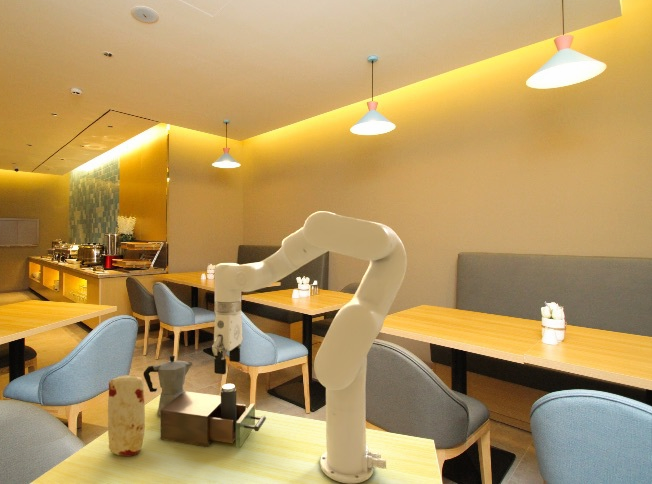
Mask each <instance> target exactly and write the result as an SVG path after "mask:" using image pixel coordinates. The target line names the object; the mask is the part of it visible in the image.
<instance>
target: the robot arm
mask: <svg viewBox="0 0 652 484" xmlns="http://www.w3.org/2000/svg"><path fill="white" fill-rule="evenodd" d="M328 252H331V253H334V254H339V255H343V256H346V257H349V258H354V259H358V260H362V261H369V264H368V267H367V269H366V271H365V273H364V275H363V277H362V279H361V281H360V283H359V285H358V287H357V290H355V293H354V295H353V296H352V298H351V299H350V301H348V303H346V304H344V305H343V306H342V307H341V308H340V309H339V310H338V311H337V313H336V314H335V316H334V318H333V320H332V321H331V324H330V326H329V328H328V329H327V332H326V334H325V336H324V338H323V340H322V342H321V345H320V346H319V348H318V350H317V353H316V355H315V358H314V361H313V370H314V375H315V377H316V379H317V381H318V382H319V383H320V384H321V385H322V386H323V387H324V388H325V433H326V436H325V437H326V438H325V439H326V442H325V443H326V451H324V452H323V453H322V455H321V457H320V462H319V463H320V469H321V471H322V472H323V473H324V474H325V476H327V477H328V478H330V479H331V480H333V481H336V482H339V483H342V484H361V483H363V482H366V481H367V480H369V479H370V478H371V477H372V476H373V473H374V468H378V469H383V470H387V459H386V458H382V454H381V453H378V452H372V451H371V450H369V444H367V415H366V414H367V413H366V412H367V411H366V409H367V407H366V406H367V405H366V404H367V401H366V399H367V397H366V395H367V394H366V391H367V390H366V383H367V367H368V354H369V352H370V350H371V348H372V347H373V344H374V342H375V341H376V339H377V337H378V335H379V334H380V332H381V330H382V329H383V326H384V323H385V320H386V318H387V315H388V313H389V311H390V309H391V307H392V305H393V303H394V301H395V299H396V296H397V295H398V293H399V291H400V288H401V286H402V284H403V282H404V280H405V276H406V272H407V266H408V256H407V252H406V248H405V245H404V243H403V241H402V240H401V237H399V235H398V234H397V233H396V232H395V231H394V229H392V228H391V227H390V226H388V225H386V224H384V223H380V222H375V221H370V220H365V219H360V218H355V217H350V216H344V215H340V214H337V213H334V212H330V211H324V210H319V211H316V212H314V213H312V214H310V215H309V216H308V217H307V218H306V220H305V221H304V223H303V226H302V227H301V228H299V229H297V230H296V231H294V232H293V233H291V234H290V235H288V236H286V237H285V238H283V240H282V241H281V247H280V248H279V249H278V250H277V251H276V252H274V253H273V254H270V256H268V257H266V258H265V259H263V260H261V261H259V262H251V263H250V262H249V263H243V264H239V263H235V262H221V263H218V264H215V267H214V313H215V318H214V328H213V329H214V331H213V344H212V346H211V350H212V356H213V360H214V361H213V362H214V363H213V364H214V368H213V369H214V374H218V375H226V374H227V358H226V355H227V352H229V354H228V355H229V357H228V359H229V362H233V363H240V361H241V347H242V346H241V344H242V343H243V336H244V335H243V334H244V333H243V317H242V292H243V293H251V292H254V291H257V290H261V289H265V288H267V287H268V288H269V287H270V286H271V285H273V284H276V283H277V282H278V281H280V280H283V279H284V278H286V277H287V276H289V275H290V274H292V273H294V272H295V271H297V270H299V269H300V268H301V267H303V266H305V265H307V264H308V263H310V262H312V261H313V260H315V259H317V258H319V257H320V256H322V255H324V254H326V253H328Z"/></svg>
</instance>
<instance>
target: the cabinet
mask: <svg viewBox="0 0 652 484" xmlns="http://www.w3.org/2000/svg"><path fill="white" fill-rule="evenodd" d="M220 406H221V395H218V394H217V395H216V394H209V393H200V392H193V391H185V390H184V392H183V393H182V394H180V395H179V396H178V397H177V398H175V399H174V400H173V401H171V402H170V403H169V404H167V405H166V406H165V407H163V408H162V409H161V410H160V415H159V417H160V419H159V420H160V430H159V431H160V440H164V441H171V442H176V443H181V444H182V443H183V444H189V445H195V446H201V447H206V448H208V447H209V446H210V444H212V442H213V441H214V440H209V417H210V416H211V415H212V414H213V413H214V412H215V411H216V410H217V409H218V408H219V407H220Z"/></svg>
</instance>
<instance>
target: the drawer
mask: <svg viewBox="0 0 652 484" xmlns="http://www.w3.org/2000/svg"><path fill="white" fill-rule="evenodd" d="M236 408H237V422H236V431H234V432H233V420H229V419H222V418H221V406H220V407H219V408H218V409H217V410H216V411H215V412H214V413H213V414H212V415H211V416H210V417H209V440H213V441H215V442H220V443H228V444H233V443H234V442H235V447H236V448H242V445H243V444H244V443H245V441H246V440H247V439H248V437H249V435H251V432H253V430H254V431H255V432H259V430H260V429H261V428H262V426H263V425H264V423H265V421H266V420H267V417H266V415H262V416H256V404H255V403H250V404H249V406H248V407H247V405H246V404H243V403H236ZM256 421H257V422H256Z"/></svg>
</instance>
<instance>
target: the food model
mask: <svg viewBox="0 0 652 484" xmlns="http://www.w3.org/2000/svg"><path fill="white" fill-rule="evenodd" d="M107 398H108V399H107V435H108V436H107V437H108V450H109V451H110V452H111V453H113V454H115V455H117V456H123V457H125V456H126V457H130V456H135V455H138V453H139V452H140V451H141V450H142V449H143V444H144V440H145V432H146V405H145V389H144V379H143V377H141V376H136V375H132V374H125V375H119V376H117V377H115V378H113V379H110V380H109V381H108V396H107Z"/></svg>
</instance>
